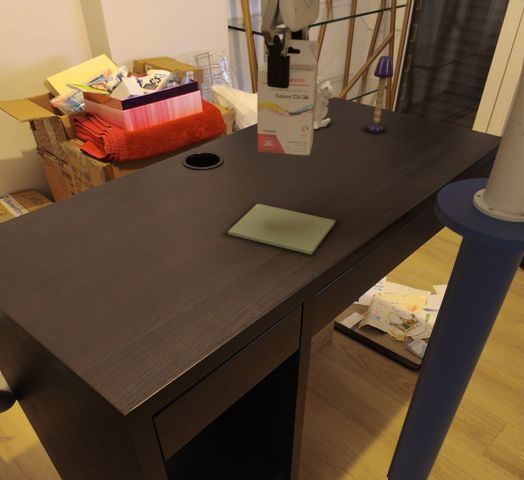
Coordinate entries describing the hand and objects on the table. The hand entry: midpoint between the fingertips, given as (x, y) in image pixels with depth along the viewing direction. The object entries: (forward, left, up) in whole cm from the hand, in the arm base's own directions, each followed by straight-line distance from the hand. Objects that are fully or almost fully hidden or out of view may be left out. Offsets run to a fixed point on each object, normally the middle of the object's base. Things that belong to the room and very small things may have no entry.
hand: (287, 80), depth 70 cm
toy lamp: (-1, -58, -24) cm, 63 cm away
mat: (0, 0, -24) cm, 24 cm away
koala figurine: (+14, -55, -24) cm, 62 cm away
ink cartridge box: (0, 0, -10) cm, 10 cm away
